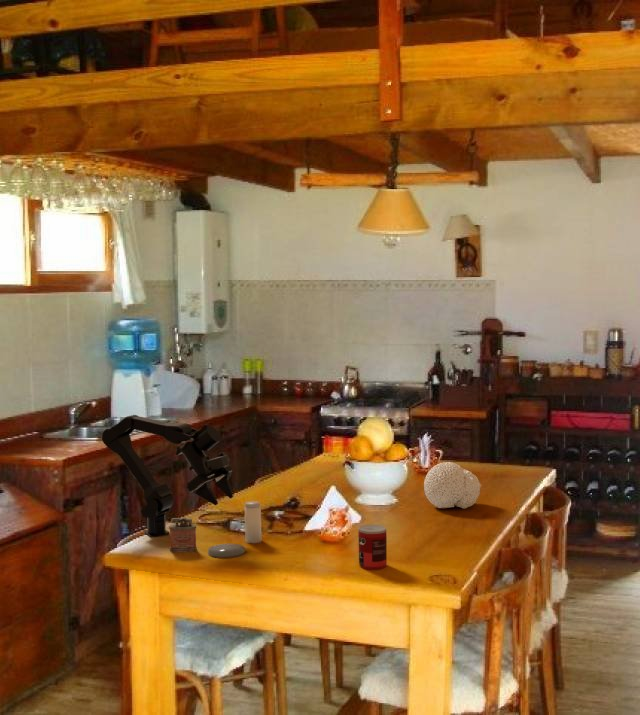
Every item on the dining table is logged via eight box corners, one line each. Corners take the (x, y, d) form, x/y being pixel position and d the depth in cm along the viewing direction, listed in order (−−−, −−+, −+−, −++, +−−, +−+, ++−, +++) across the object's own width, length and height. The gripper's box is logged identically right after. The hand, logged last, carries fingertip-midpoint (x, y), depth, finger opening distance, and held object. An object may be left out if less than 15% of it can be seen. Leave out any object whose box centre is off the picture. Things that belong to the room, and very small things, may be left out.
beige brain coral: (438, 492, 326) (444, 449, 335) (410, 506, 340) (416, 465, 348) (487, 512, 332) (491, 469, 341) (457, 526, 346) (462, 484, 355)
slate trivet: (202, 550, 294) (202, 547, 293) (235, 544, 299) (235, 541, 299) (217, 560, 284) (217, 556, 284) (251, 553, 290) (251, 550, 290)
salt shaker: (242, 540, 304) (241, 502, 303) (256, 537, 306) (256, 500, 305) (249, 544, 299) (248, 505, 298) (264, 541, 302) (263, 503, 301)
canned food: (362, 560, 281) (361, 523, 280) (389, 562, 279) (389, 525, 278) (355, 568, 274) (355, 530, 273) (383, 571, 272) (383, 532, 271)
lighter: (197, 548, 296) (196, 515, 295) (196, 551, 293) (195, 518, 292) (170, 548, 296) (169, 516, 295) (169, 552, 293) (168, 519, 292)
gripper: (198, 450, 292) (227, 494, 290) (229, 439, 309) (256, 480, 306) (174, 470, 297) (201, 513, 294) (206, 458, 314) (232, 499, 311)
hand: (224, 501), depth 301 cm, fingers open, 9 cm apart
